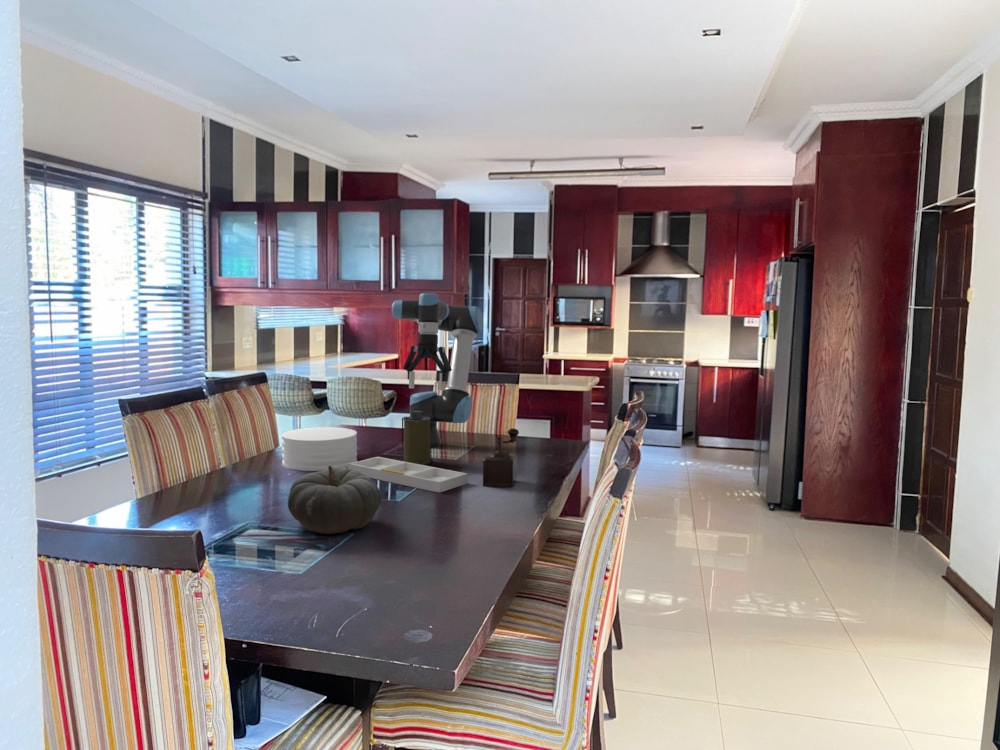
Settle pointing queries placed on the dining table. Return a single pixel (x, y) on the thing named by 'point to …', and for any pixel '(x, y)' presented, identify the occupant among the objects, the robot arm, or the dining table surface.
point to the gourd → (334, 500)
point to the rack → (410, 474)
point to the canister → (416, 438)
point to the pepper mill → (500, 465)
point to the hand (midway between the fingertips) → (426, 389)
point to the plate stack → (318, 448)
